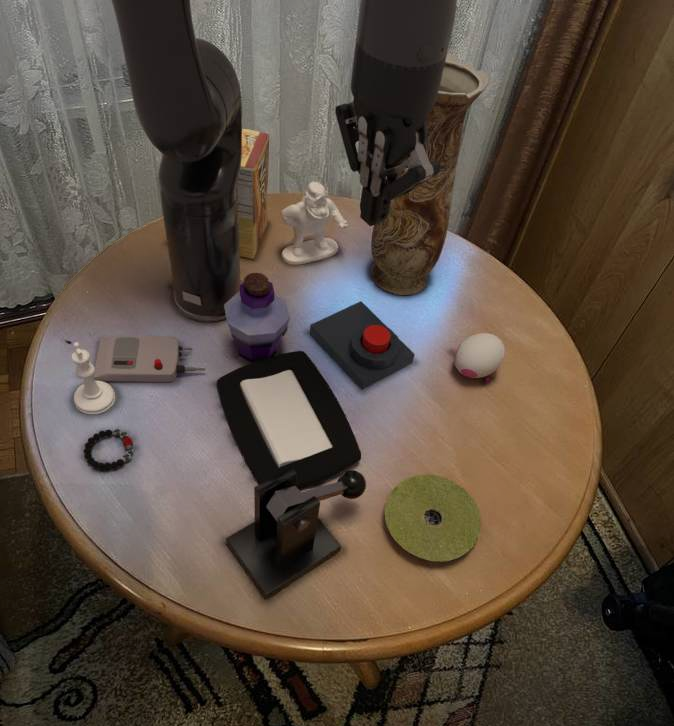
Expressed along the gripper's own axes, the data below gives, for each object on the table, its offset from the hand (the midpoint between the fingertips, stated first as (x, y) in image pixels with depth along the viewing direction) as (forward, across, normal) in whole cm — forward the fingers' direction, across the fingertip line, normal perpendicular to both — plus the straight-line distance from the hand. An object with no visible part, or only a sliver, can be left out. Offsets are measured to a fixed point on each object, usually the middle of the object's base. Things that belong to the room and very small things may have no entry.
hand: (372, 219), depth 67 cm
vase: (+25, +12, -20) cm, 34 cm away
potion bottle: (+25, +10, +7) cm, 28 cm away
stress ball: (+25, -8, -16) cm, 31 cm away
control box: (+25, +3, -5) cm, 26 cm away
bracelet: (+25, +6, +31) cm, 40 cm away
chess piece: (+25, +14, +29) cm, 41 cm away
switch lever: (+19, -16, +17) cm, 30 cm away
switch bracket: (+25, -16, +21) cm, 36 cm away
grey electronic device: (+25, +16, +21) cm, 36 cm away
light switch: (+25, -2, +11) cm, 28 cm away
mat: (+25, -23, +5) cm, 35 cm away
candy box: (+25, +30, -4) cm, 39 cm away
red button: (+22, 0, -5) cm, 22 cm away
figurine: (+25, +22, -10) cm, 35 cm away
